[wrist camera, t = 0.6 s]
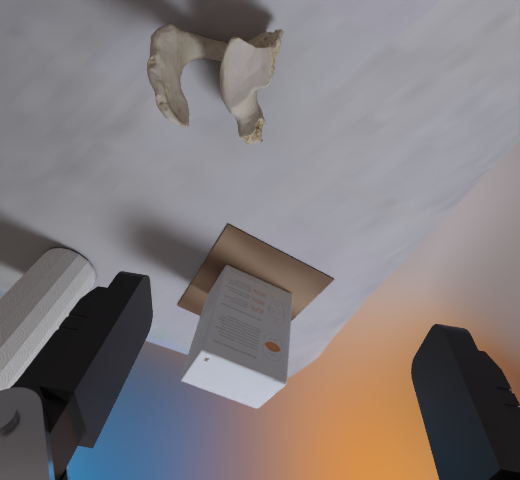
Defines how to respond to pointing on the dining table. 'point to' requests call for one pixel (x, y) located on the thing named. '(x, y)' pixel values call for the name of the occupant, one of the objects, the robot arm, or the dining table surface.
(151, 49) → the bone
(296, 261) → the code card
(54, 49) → the dining table surface
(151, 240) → the dining table surface
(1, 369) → the paper towel roll
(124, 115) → the dining table surface
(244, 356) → the small box
